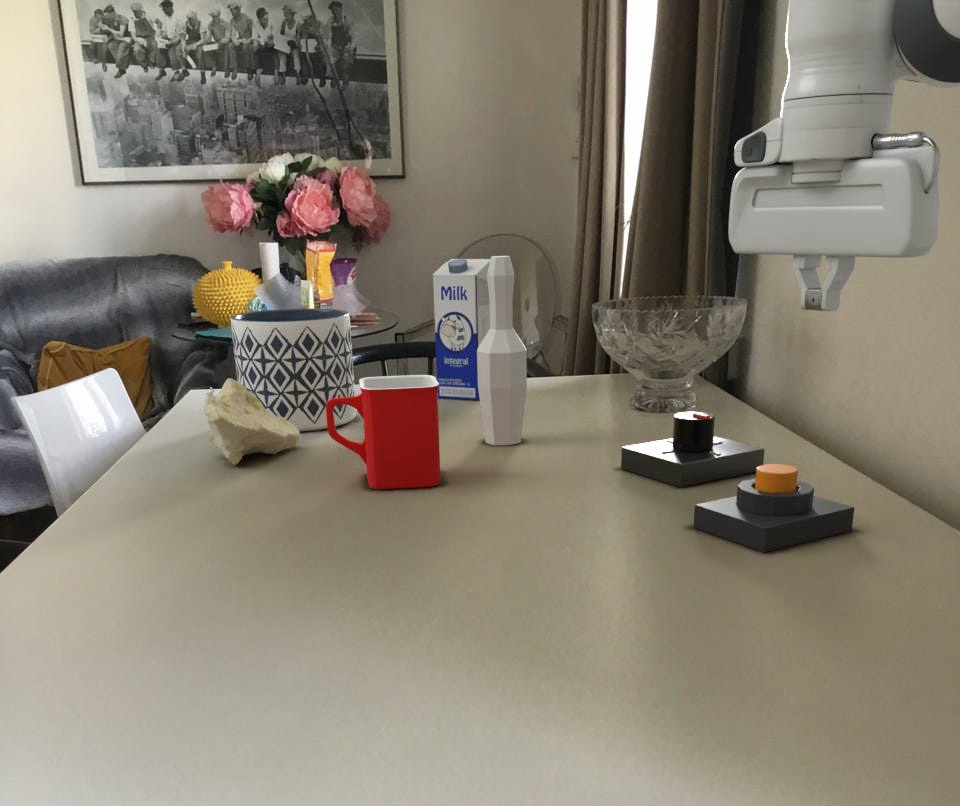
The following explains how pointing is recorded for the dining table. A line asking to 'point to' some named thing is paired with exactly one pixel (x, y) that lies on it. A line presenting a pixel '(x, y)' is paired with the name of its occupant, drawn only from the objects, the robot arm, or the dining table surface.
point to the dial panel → (691, 461)
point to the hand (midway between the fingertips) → (819, 310)
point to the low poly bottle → (502, 361)
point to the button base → (773, 517)
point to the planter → (296, 363)
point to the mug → (395, 430)
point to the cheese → (245, 424)
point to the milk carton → (460, 325)
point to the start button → (776, 478)
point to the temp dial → (693, 431)
